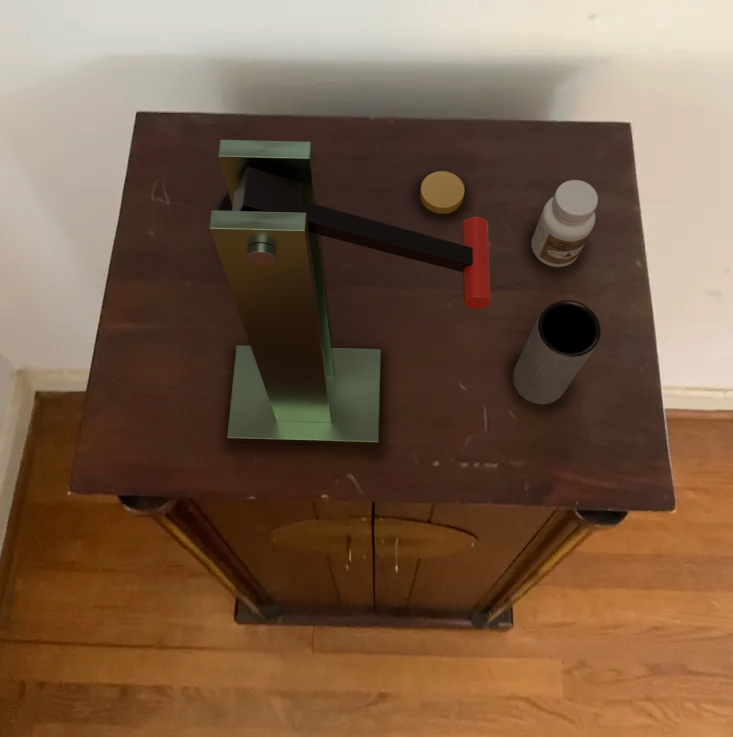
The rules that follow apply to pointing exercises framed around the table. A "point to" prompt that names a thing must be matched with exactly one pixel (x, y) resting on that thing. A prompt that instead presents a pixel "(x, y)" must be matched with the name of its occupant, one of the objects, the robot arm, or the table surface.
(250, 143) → the hand press
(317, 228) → the lever
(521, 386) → the planter
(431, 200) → the brass blank
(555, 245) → the pill bottle
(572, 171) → the table surface
